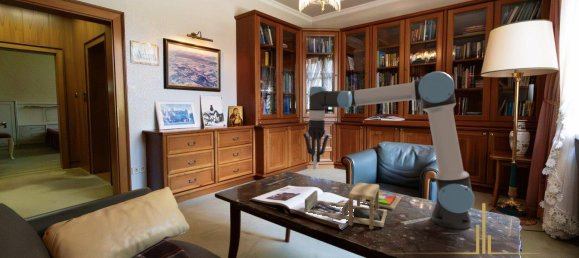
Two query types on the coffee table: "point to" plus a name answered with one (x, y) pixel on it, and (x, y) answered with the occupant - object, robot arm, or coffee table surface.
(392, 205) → the wooden puzzle
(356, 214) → the rock
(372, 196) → the stool
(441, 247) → the coffee table surface
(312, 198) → the sled
